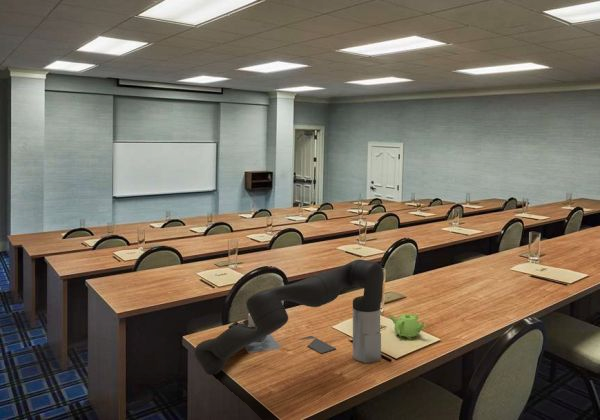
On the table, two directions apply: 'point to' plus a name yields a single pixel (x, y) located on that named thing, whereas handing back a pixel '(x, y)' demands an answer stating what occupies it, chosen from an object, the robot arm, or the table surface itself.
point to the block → (250, 322)
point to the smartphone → (319, 345)
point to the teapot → (407, 325)
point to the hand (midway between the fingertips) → (258, 322)
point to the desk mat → (263, 345)
